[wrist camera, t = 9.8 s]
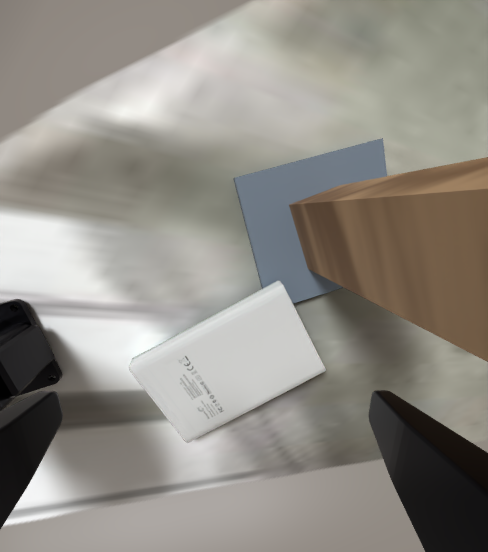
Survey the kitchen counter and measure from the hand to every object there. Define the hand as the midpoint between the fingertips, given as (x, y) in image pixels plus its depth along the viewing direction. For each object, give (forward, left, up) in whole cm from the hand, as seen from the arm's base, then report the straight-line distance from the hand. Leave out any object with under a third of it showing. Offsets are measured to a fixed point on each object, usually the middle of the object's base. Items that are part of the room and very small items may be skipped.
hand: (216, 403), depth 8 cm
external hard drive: (0, -6, -13) cm, 14 cm away
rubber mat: (+10, +2, -13) cm, 16 cm away
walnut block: (+10, +2, -12) cm, 16 cm away
